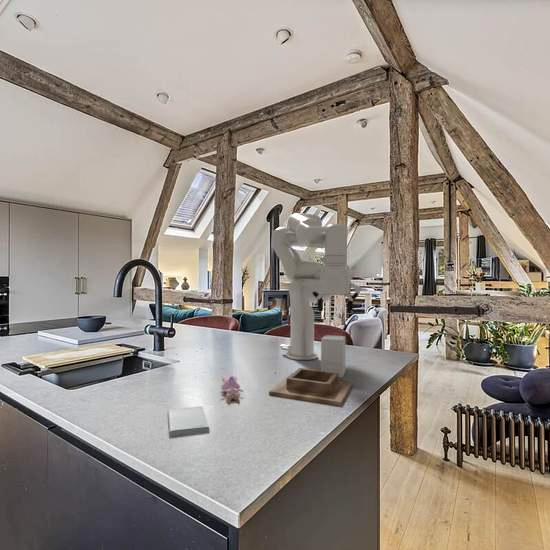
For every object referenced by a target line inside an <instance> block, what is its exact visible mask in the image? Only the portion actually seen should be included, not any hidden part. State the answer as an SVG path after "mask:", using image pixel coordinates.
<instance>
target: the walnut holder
mask: <svg viewBox="0 0 550 550" xmlns="http://www.w3.org/2000/svg"><path fill="white" fill-rule="evenodd" d="M353 385H354V380H350V379H343V378H339V373H337V372H329V371H321V369H320V370H318V369H311V368H305V367H304V368H303V367H299V368H298V369H297V370H295V371H294V372H291V373H290V374H288V376H286V377H284V379H282V380H281V381H280V382H279V383H277V384H276V385H275V386H273V387H272V388H271V389H270V390H269V391H268V395H269V396H274V397H280V398H287V399H295V400H300V401H305V402H306V401H307V402H313V403H319V404H325V403H326V404H325V405H331V404H332V406H337V405H338V406H339V407H341V406H342V404H343V403H342V402H344V401H345V399H346V397H347V396H348V393H349V392H350V391H351V389H350V388H352V386H353ZM346 395H347V396H346Z"/></svg>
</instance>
